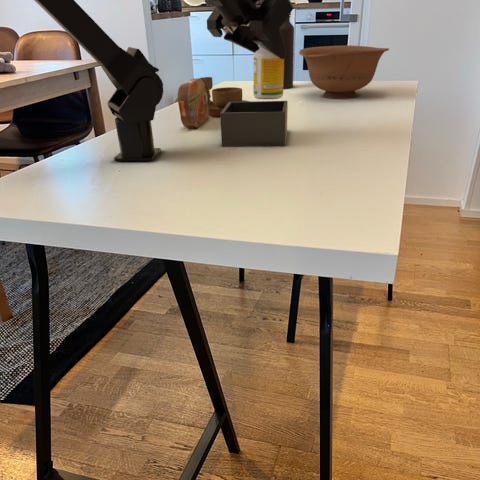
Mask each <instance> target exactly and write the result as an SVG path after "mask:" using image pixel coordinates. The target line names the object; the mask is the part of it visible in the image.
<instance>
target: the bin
mask: <svg viewBox="0 0 480 480" xmlns="http://www.w3.org/2000/svg"><path fill="white" fill-rule="evenodd" d="M288 102H289V101H288V100H255V101H253V100H252V101H250V102H229V103H228V104H227V105H226V106H225V108H224V109H223V110H222V112H221V113H220V116H219V119H220V136H221V137H220V138H221V147H285V146H286V142H287V136H288V109H289V107H288Z"/></svg>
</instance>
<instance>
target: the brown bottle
mask: <svg viewBox="0 0 480 480" xmlns="http://www.w3.org/2000/svg"><path fill="white" fill-rule="evenodd" d="M291 17H292V12H291V13H290V14H289V16H288V17H287V18H286V20H285V21H284V23H283V24H282V26H281V27H280V32H281V36H282V39H283V43H284V46H285V50H286V53H287V55H286V57H285V58H284V79H283V90H286V89H291V88H293V87H294V58H295V57H294V56H295V55H294V51H295V45H294V44H295V27H294V25H293V24H292V22H291Z"/></svg>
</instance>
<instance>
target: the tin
mask: <svg viewBox="0 0 480 480" xmlns="http://www.w3.org/2000/svg"><path fill="white" fill-rule="evenodd" d="M177 104H178V109H179V115H180V121H181V123H182V125H183V126H184V127H185V128H187V129H189V128H191V129H192V128H197V129H198V128H200V127H201V126H202V125H203V124H204V123H205V122H206V121H208V119H209V116H210V115H209V111H210V104H209V93H208V88H207V85H206V82H205V80H204V79H203V77H199V78H191V79H189V80H187V81H186V82H184V83H181V84H180V86H179V87H178V90H177Z"/></svg>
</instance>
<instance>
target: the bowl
mask: <svg viewBox="0 0 480 480" xmlns="http://www.w3.org/2000/svg"><path fill="white" fill-rule="evenodd" d="M388 51H390V48H388V47H375V46H374V47H373V46H366V45H352V44H351V45H327V46H315V47H314V46H313V47H306V48H305V47H304V48H301V49H299V52H298V54H299V55H300V56H302V57H303V58H304V60H305V61H306V64H307V70H308V76H309V79H310V82H311V84H313V86H314V87H316V88H318V89H319V90H321V91H324V93H322V97H323V98H327V99H350V98H355V97H358V93H357V92H356V91H358V90H361V89H363V88H365V87H366V86H368V85H369V84H370V83H371V82H372V80H373V79H374V76H375V74H376V72H377V67H378V65H379V63H380V62H379V61H380V59H381V57H382V56H383V54H384V53H385V52H388Z"/></svg>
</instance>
